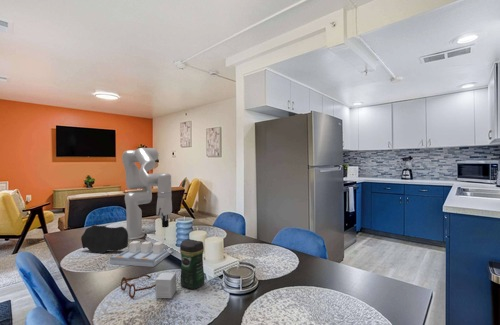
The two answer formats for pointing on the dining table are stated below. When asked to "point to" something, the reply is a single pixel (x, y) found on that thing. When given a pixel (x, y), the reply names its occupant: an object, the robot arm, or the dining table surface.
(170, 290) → the product box
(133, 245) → the light grey block
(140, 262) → the switch bank
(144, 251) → the off-white block
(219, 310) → the dining table surface
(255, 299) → the dining table surface
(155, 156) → the robot arm
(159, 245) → the white block
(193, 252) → the coffee jar
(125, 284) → the glasses
